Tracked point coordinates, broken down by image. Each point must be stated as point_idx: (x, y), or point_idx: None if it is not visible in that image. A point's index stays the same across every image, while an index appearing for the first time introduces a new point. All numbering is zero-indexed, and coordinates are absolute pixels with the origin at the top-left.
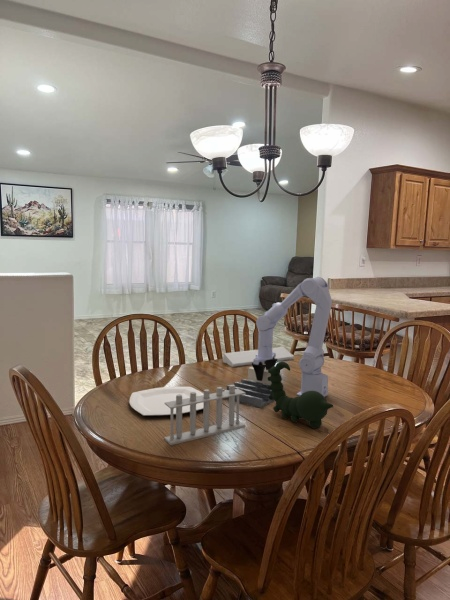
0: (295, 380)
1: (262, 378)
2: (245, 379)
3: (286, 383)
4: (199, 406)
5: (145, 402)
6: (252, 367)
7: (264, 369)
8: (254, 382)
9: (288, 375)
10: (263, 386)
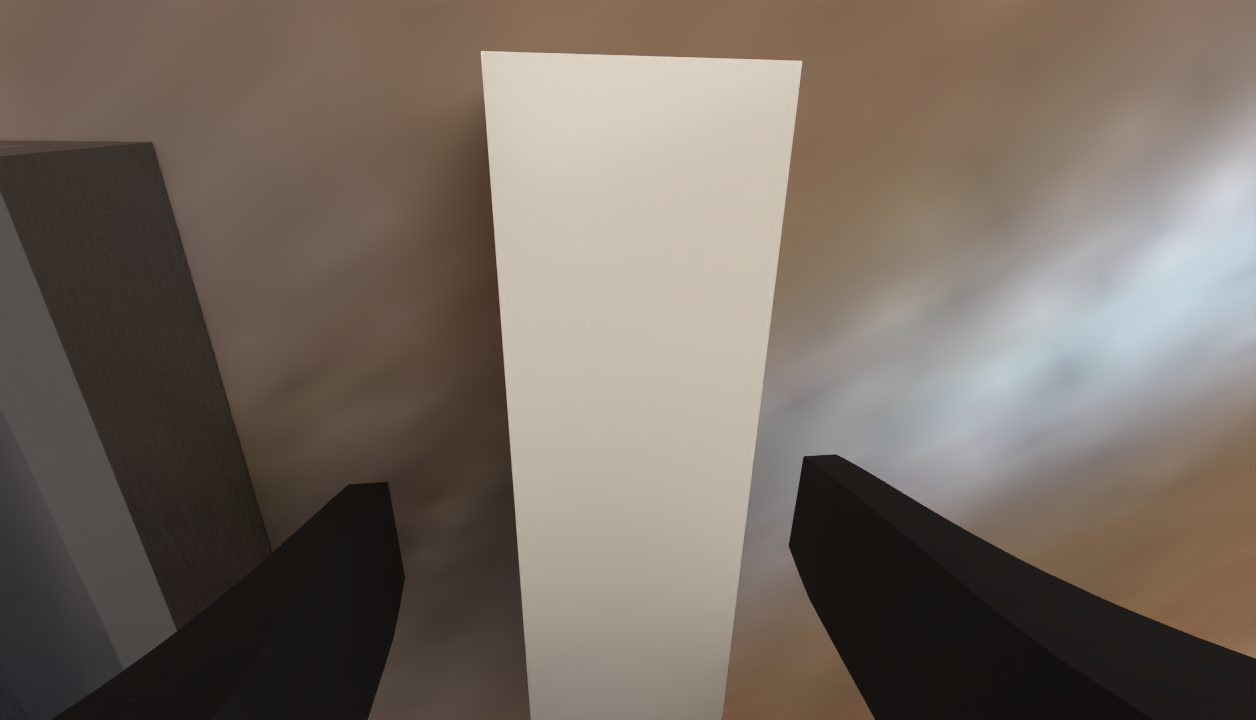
0: None
1: (383, 636)
2: (14, 294)
3: None
4: None
5: None
6: (711, 181)
7: (715, 640)
8: (87, 579)
9: (1225, 476)
10: None
